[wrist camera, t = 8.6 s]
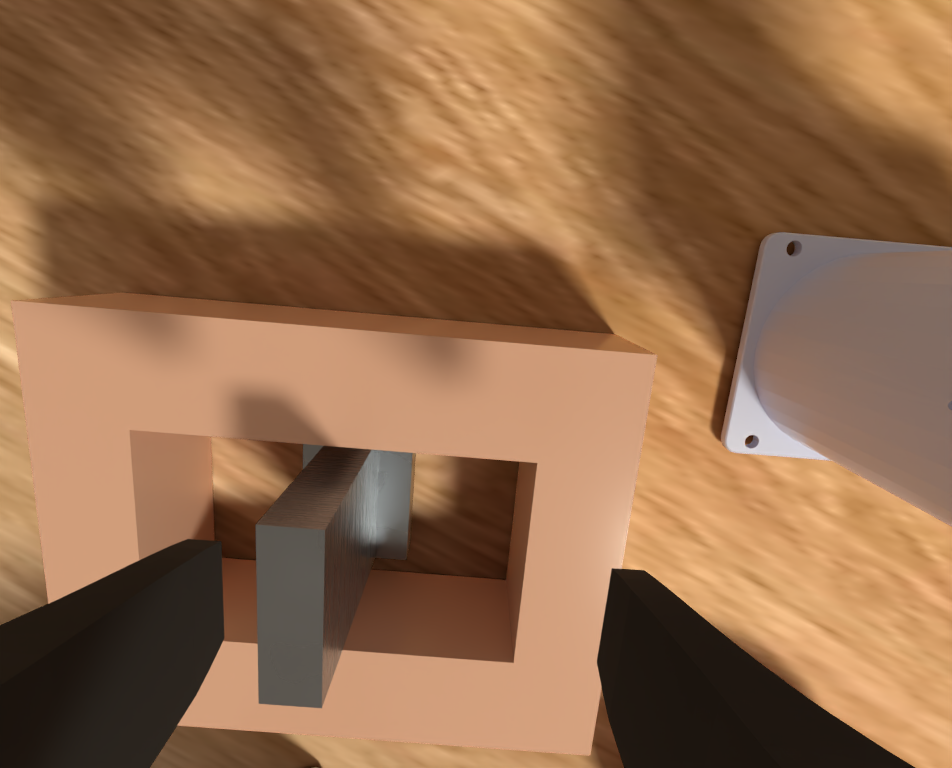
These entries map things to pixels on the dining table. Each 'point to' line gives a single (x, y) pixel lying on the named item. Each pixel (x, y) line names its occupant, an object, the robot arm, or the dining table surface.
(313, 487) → the brushed metal prism
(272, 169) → the dining table surface
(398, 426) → the holder block
